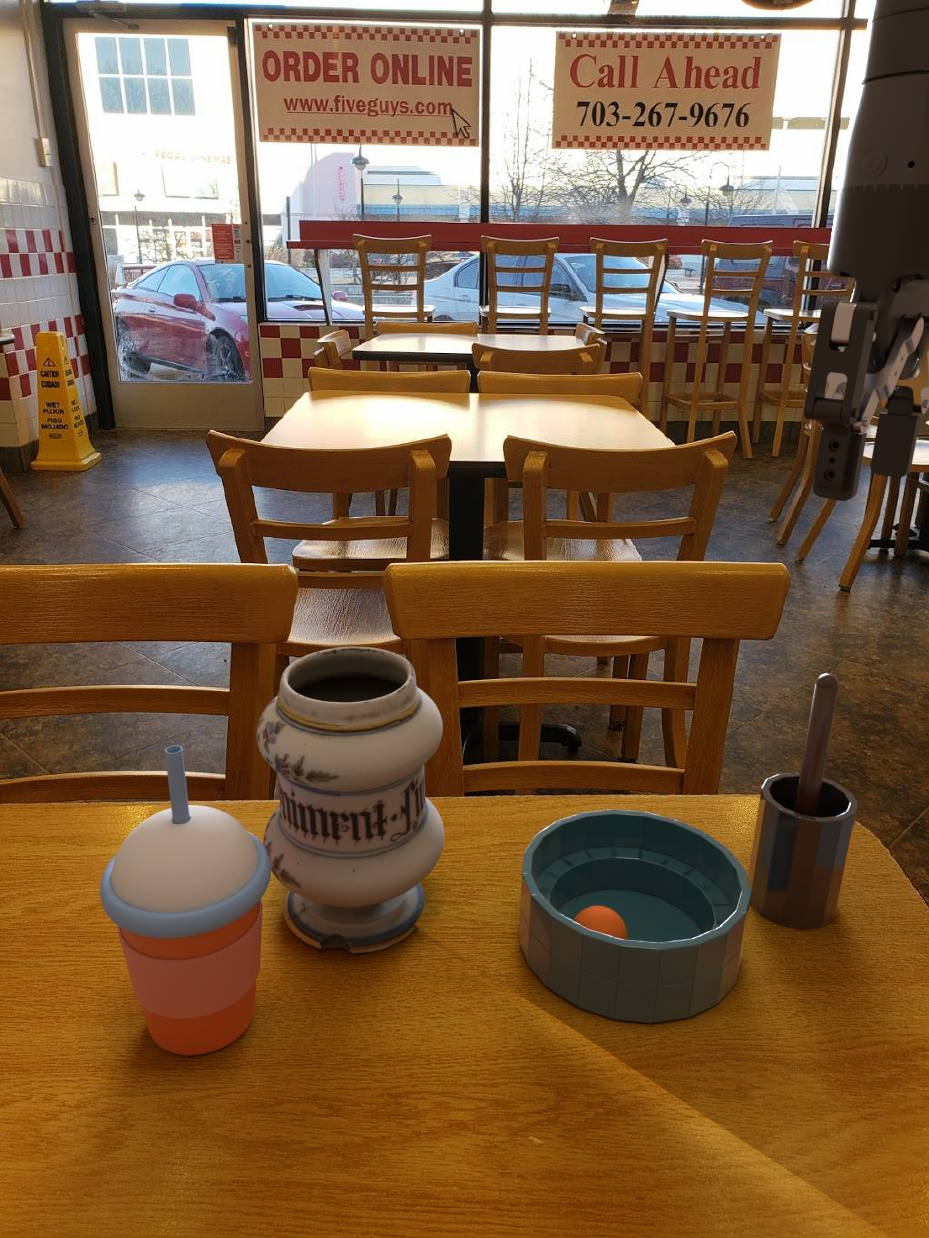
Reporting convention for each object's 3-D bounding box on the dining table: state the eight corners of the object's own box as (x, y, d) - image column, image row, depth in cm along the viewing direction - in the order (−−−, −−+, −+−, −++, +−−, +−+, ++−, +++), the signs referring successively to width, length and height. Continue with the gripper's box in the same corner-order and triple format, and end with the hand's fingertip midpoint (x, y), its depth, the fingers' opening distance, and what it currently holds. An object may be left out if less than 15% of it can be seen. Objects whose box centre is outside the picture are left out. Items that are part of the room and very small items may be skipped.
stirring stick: (778, 888, 67) (815, 666, 61) (810, 903, 66) (852, 676, 59) (769, 897, 66) (806, 672, 60) (802, 912, 65) (843, 683, 58)
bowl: (599, 855, 71) (605, 787, 69) (776, 944, 62) (789, 869, 60) (474, 949, 61) (476, 873, 59) (663, 1070, 53) (673, 986, 50)
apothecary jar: (247, 961, 60) (225, 709, 53) (291, 850, 71) (277, 630, 65) (435, 972, 59) (437, 718, 53) (450, 858, 71) (452, 637, 64)
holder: (768, 868, 70) (785, 763, 67) (849, 905, 66) (872, 795, 63) (729, 906, 66) (745, 796, 63) (814, 948, 62) (836, 832, 59)
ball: (576, 925, 57) (584, 981, 57) (631, 912, 58) (639, 967, 58) (559, 904, 61) (567, 956, 61) (611, 891, 61) (619, 943, 62)
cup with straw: (305, 978, 59) (291, 722, 52) (234, 1095, 51) (206, 809, 44) (176, 950, 61) (146, 700, 54) (88, 1057, 53) (41, 779, 46)
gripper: (947, 169, 42) (883, 521, 48) (1030, 188, 52) (968, 478, 58) (787, 175, 47) (746, 495, 53) (891, 191, 56) (847, 459, 62)
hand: (862, 486), depth 55 cm, fingers open, 8 cm apart
